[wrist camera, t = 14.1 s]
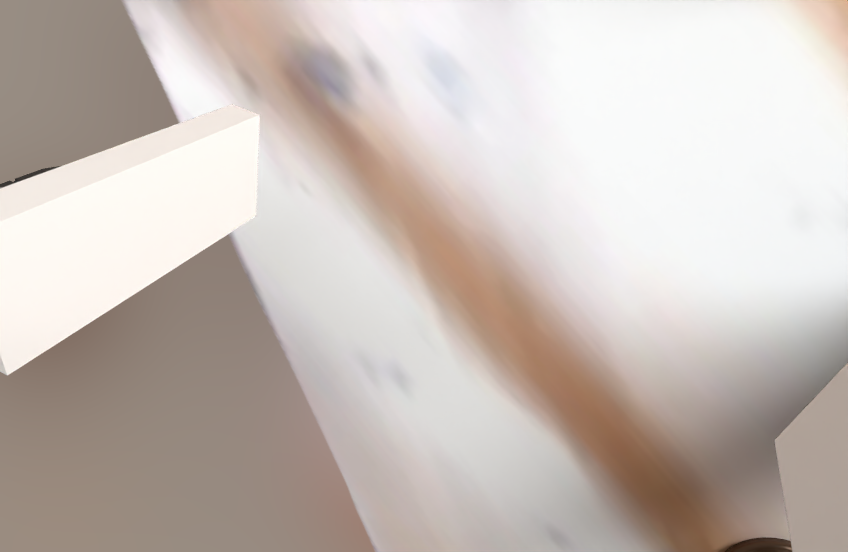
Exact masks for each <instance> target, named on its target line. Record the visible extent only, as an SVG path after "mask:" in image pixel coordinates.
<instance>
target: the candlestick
mask: <svg viewBox="0 0 848 552" xmlns="http://www.w3.org/2000/svg"><path fill="white" fill-rule="evenodd" d="M726 552H792V546H791V541H788V540H784V539H777V538H757V539H750V540H747V541H743V542H740V543H738V544H736V545H734V546H732V547H731V548H729V549H728V550H727V551H726Z"/></svg>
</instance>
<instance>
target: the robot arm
mask: <svg viewBox="0 0 848 552" xmlns="http://www.w3.org/2000/svg"><path fill="white" fill-rule="evenodd" d="M259 122H260V115H259V114H256V113H254V112H251V111H249V110H246V109H243V108H241V107H238V106H236V105H233V104H231V105H228V106H226V107H223V108H220V109H217V110H215V111H212V112H209V113H206V114H204V115H201V116H198V117H195V118H193V119H190V120H187V121H185V122H182V123H179V124H177V125H174V126H171V127H168V128H165V129H163V130H160V131H157V132H154V133H152V134H149V135H146V136H143V137H141V138H138V139H135V140H132V141H130V142H127V143H124V144H121V145H119V146H116V147H113V148H110V149H108V150H105V151H103V152H99V153H97V154H94V155H91V156H88V157H86V158H83V159H80V160H77V161H75V162H72V163H69V164H67V165H64V166H58V167H52V168H45V169H41V170H38V171H36V172H33V173H30V174H27V175H24V176H22V177H19V178H16V179H15V181H14V182H12V181H8V182H5V183H2V184H0V372H2V373H4V374H6V375H9V374H10V373H12V372H14V371H15V370H17V369H18V368H20V367H21V366H23V365H25V364H26V363H28V362H29V361H31V360H32V359H34V358H35V357H37V356H38V355H40V354H42V353H43V352H45V351H46V350H48V349H49V348H51V347H52V346H54V345H56V344H57V343H59V342H60V341H62V340H64V339H65V338H66V337H68V336H70V335H71V334H73V333H74V332H76V331H78V330H79V329H81V328H82V327H84V326H85V325H87V324H89V323H90V322H92V321H93V320H95V319H96V318H98V317H99V316H101V315H103V314H104V313H106V312H107V311H109V310H110V309H112V308H113V307H115V306H117V305H118V304H120V303H121V302H123V301H124V300H126V299H127V298H129V297H130V296H132V295H134V294H135V293H137V292H138V291H140V290H142V289H143V288H145V287H146V286H148V285H149V284H151V283H153V282H154V281H156V280H157V279H159V278H160V277H162V276H163V275H165V274H167V273H168V272H170V271H171V270H173V269H174V268H176V267H177V266H179V265H180V264H182V263H184V262H185V261H187V260H188V259H190V258H191V257H193V256H194V255H196V254H198V253H199V252H201V251H202V250H204V249H206V248H207V247H209V246H210V245H212V244H213V243H215V242H217V241H218V240H220V239H221V238H223V237H224V236H226V235H227V234H229V233H231V232H232V231H234V230H235V229H237V228H238V227H240V226H241V225H243V224H245V223H246V222H248V221H249V220H251V219H252V218H254V217H256V209H257V180H258V151H259ZM774 442H775V448H776V454H777V460H778V466H779V472H780V478H781V484H782V491H783V497H784V503H785V509H786V515H787V521H788V527H789V533H790V540H791V546H792V552H848V363H847V364H846V365H845V366H844V367H843V368H842V369H841V370H840V371H839V372H838V373H837V374H836V375H835V377H834V378H833V379H832V380H831V381H830V382H829V383H828V384H827V385H826V386H825V387H824V388H823V389H822V390H821V391H820V392H819V394H818V395H817V396H816V397H815V398H814V399H813V400H812V401H811V402H810V403H809V404H808V405H807V406H806V407H805V408H804V409H803V411H802V412H801V413H800V414H799V415H798V416H797V417H796V418H795V419H794V420H793V421H792V422H791V423H790V424H789V425H788V426H787V427H786V429H785V430H784V431H783V432H782V433H781V434H780V435H779V436H778V437H777V438H776V439H775V440H774Z"/></svg>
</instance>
